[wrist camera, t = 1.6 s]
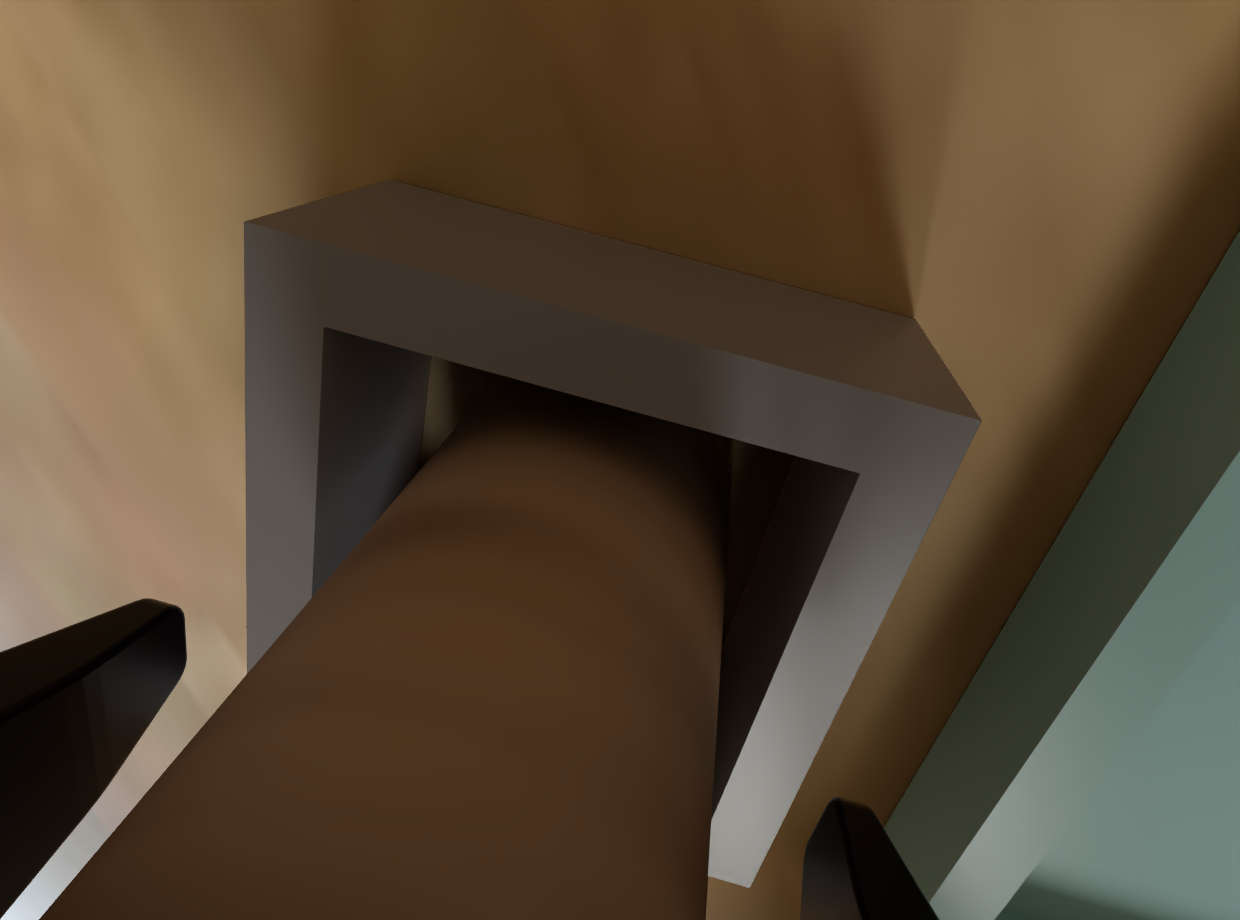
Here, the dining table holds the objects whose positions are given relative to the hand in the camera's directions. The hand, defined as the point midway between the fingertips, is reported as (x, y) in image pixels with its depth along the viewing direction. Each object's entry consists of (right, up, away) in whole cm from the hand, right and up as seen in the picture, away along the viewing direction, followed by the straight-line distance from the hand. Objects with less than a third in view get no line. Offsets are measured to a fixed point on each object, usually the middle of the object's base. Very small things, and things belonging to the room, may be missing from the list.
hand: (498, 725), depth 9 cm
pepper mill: (+1, +3, +5) cm, 6 cm away
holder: (+1, +3, +5) cm, 6 cm away
